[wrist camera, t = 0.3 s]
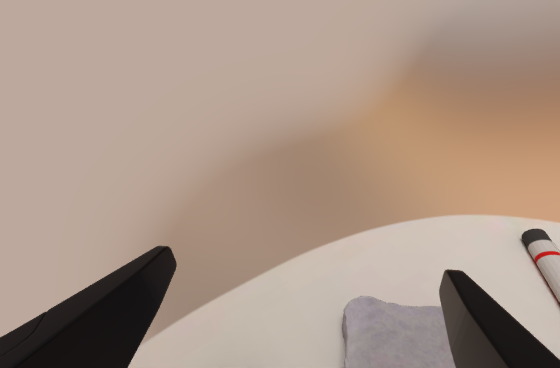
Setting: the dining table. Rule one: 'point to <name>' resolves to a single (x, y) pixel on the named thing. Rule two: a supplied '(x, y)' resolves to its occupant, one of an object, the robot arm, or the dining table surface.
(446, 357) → the stone block
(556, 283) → the marker
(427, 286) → the dining table surface
